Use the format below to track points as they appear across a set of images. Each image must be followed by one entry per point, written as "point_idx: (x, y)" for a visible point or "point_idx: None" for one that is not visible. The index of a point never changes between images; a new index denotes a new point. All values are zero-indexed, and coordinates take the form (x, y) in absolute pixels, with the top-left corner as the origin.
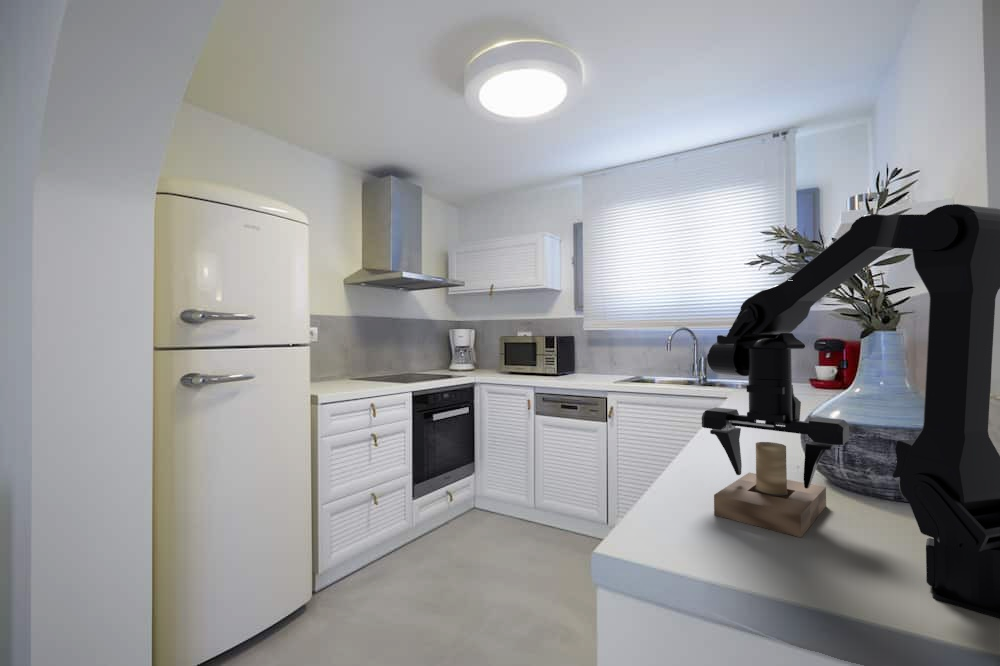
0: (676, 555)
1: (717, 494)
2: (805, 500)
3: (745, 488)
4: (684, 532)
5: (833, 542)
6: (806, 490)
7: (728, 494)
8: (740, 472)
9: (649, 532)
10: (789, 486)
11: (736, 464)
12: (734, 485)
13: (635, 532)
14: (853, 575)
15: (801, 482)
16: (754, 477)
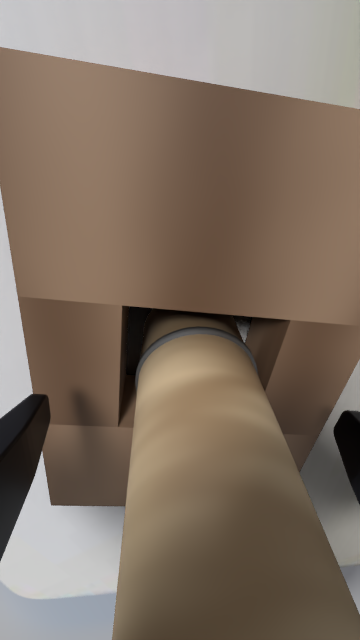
0: (98, 571)
1: (58, 499)
2: (310, 413)
3: (103, 408)
4: (66, 525)
5: (323, 431)
6: (341, 288)
7: (83, 485)
8: (45, 409)
9: (21, 549)
10: (269, 269)
11: (25, 496)
12: (53, 397)
13: (5, 557)
14: (321, 512)
15: (349, 116)
16: (69, 192)
